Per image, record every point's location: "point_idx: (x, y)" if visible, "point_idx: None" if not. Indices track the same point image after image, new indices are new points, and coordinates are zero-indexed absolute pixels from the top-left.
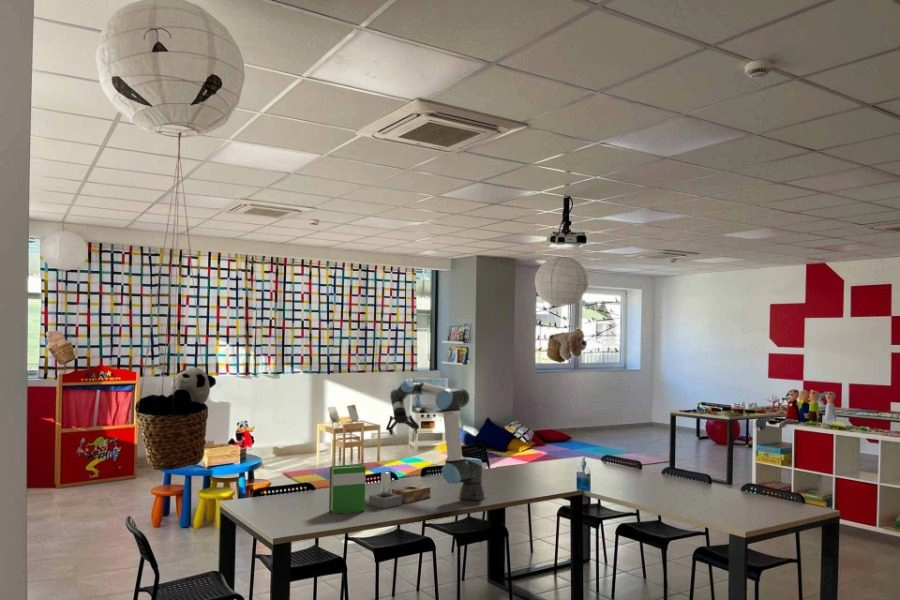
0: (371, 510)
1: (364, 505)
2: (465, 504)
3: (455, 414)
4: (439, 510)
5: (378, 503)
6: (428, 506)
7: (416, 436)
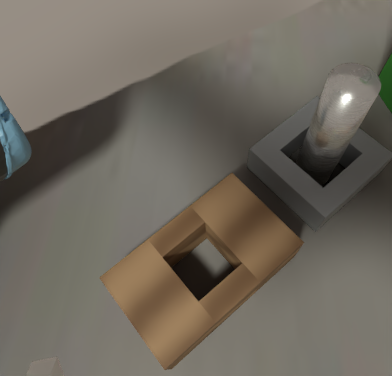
0: None
1: (383, 71)
2: None
3: None
4: (121, 91)
5: None
6: (148, 140)
7: (34, 363)
